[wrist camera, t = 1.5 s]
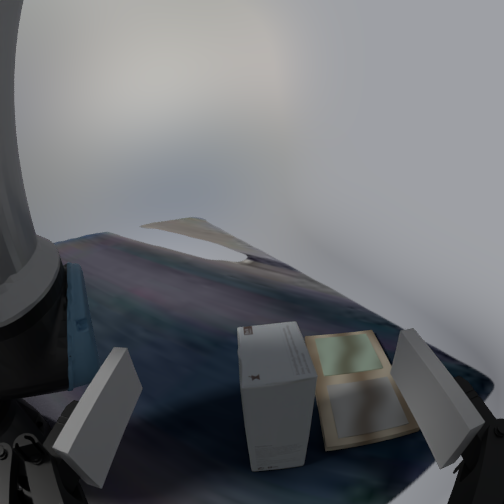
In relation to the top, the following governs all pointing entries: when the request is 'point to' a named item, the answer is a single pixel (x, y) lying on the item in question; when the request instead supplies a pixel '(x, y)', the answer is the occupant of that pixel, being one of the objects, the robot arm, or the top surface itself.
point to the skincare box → (276, 394)
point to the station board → (357, 391)
